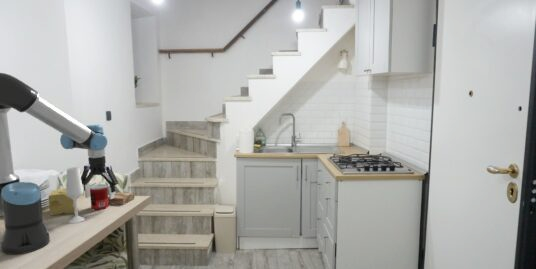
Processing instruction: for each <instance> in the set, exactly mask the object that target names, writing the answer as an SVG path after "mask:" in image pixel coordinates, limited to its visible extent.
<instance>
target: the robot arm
mask: <svg viewBox="0 0 536 269" xmlns="http://www.w3.org/2000/svg"><path fill="white" fill-rule="evenodd" d="M12 109H14V110H15V111H17V112H19V113H26V114H28V115H30V116H32V117H33V118H35V119H37V120H38V121H40V122H41V123H44V124H45V125H48V126H49V127H50V128H52V129H54V130H56V131H57V132H59V133H61V136H60V139H59V140H60V145H61V147H62V148H64V149H65V150H73V149H80V150H82V149H83V150H87V156H88V158H87V159H88V164H86V165H84V166H83V171H82V173H81V175H80V176H81V181H82V187H83V192H84V193H85V194H84V196H85V198H86V199H87V198H91V196H90V187H91V185H90V184H91V183H89V182H90V181H91V179H92V178H93V177H94V176H101V177H102V178H103V179H104V180H105V181H106V183H108V185H109V186H108V197H109V196H110V199H113V198H115V197H114V194H115V192H116V185H119V180H118V179H117V177H116V175H115V173H114V172H113V168H112V167H113V166H112V165H109V166H108V165H107V166H106V156H105V155H106V152H105V151H106V149H105V148H106V147H107V145H108V138H107V137H106V135H105V132H104V127H103V125H101V124H89V125H84V124H83V123H81V122H80V121H78V120H76V119H75V118H73V117H72V116H70V115H69V114H67V113H66V112H64V111H62V109H60V108H58V107H56V106H55V105H53V104H52V103H50V102H49V101H47V100H46V99H44V98H43V97H41V96H40V93H39V91H37V90H35V89H34V88H33V87H31V86H29V85H28V84H27V83H25V82H23V81H22V80H20V79H18V78H17V77H15V76H13V75H11V74H8V73H3V72H0V215H1V216H3V220H4V228H5V229H4V234H3V238H2V241H1V243H0V250H1V253H3V254H6V255H20V254H26V253H30V252H34V251H36V250H40V249H41V248H43V247H45V246H47V245H48V244H49V243H50V241H51V238H50V236H51V235H50V233H49V232H48V230H47V228H46V225H45V223H44V220H43V219H44V218H43V206H42V192H41V189H40V186H39V185H38V184H36V183H34V182H31V181H29V182H27V181H20V176H19V175H17V174H15V172H14V162H13V155H12V146H11V136H10V129H9V121H8V113H9V112H10V110H12ZM89 171H90V172H89Z"/></svg>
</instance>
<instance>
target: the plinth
mask: <svg viewBox="0 0 536 269" xmlns="http://www.w3.org/2000/svg"><path fill="white" fill-rule="evenodd" d="M114 197H115V198H113V199H110V196H109V195H108V203H110V204H109V205H119V204H120V205H122V206H123V205H125V204H128V203H129V201H130V202H131V201H133V200H135V199H134V198H135V193H132V192H116V193H115V192H114Z"/></svg>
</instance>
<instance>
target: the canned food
mask: <svg viewBox="0 0 536 269" xmlns="http://www.w3.org/2000/svg"><path fill="white" fill-rule="evenodd" d="M108 197H109V187H108V185H107V184H99V183H98V184H94V185H90V207H91V210H93V209H94V211H101V209H102V210H105V209H107V208H108V207H109V204H108Z"/></svg>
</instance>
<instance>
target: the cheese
mask: <svg viewBox="0 0 536 269" xmlns="http://www.w3.org/2000/svg"><path fill="white" fill-rule="evenodd" d="M48 208H49V215H50V216H58V215H63V214H66V215H67V214H68V215H69V214H75V208H74V200H73V199H71V198H70V197H68V196H67V194H66V188H64V189H53V190H52V191H51V193H50V194H49V195H48Z"/></svg>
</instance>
